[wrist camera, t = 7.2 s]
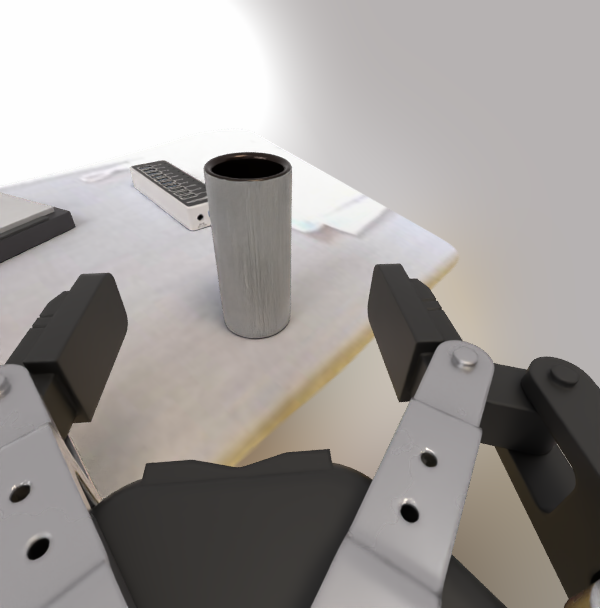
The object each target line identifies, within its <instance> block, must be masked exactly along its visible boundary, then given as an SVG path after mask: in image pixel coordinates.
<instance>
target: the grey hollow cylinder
mask: <svg viewBox="0 0 600 608" xmlns="http://www.w3.org/2000/svg"><path fill="white" fill-rule="evenodd" d="M204 177H205V184H206V192H207V199H208V206H209V214H210V221H211V228H212V236H213V243H214V250H215V258H216V265H217V272H218V280H219V287H220V294H221V302H222V309H223V316H224V320H225V324H226V326H227V327H228V328H229V329H230V330H231V331H232V332H234V333H235V334H237V335H240V336H243V337H247V338H264V337H268V336H271V335H274V334H276V333H278V332H279V331H281V330H282V329H283V328H284V327H285V326H286V325H287V324H288V322H289V319H290V305H291V203H292V167H291V164H290V163H289V162H288V161H287V160H286V159H284V158H282V157H279V156H276V155H272V154H266V153H256V152H242V153H232V154H226V155H222V156H218V157H215V158H213V159H211V160H209V161H208V162H207V163H206V164H205V166H204Z"/></svg>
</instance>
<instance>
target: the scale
mask: <svg viewBox="0 0 600 608" xmlns="http://www.w3.org/2000/svg"><path fill="white" fill-rule="evenodd" d="M74 227H75V224H74V221H73V218H72V216H71V213H70V211H67V210H63V209H59V208H56V207H52V206H48V205H45V204H41V203H37V202H34V201H30V200H26V199H22V198H19V197H15V196H11V195H8V194H4V193H0V263H1V262H3V261H5V260H7V259H9V258H11V257H13V256H15V255H17V254H19V253H22V252H24V251H26V250H28V249H30V248H32V247H34V246H36V245H38V244H41V243H43V242H45V241H47V240H49V239H51V238H53V237H55V236H57V235H59V234H62V233H64V232H66V231H68V230H70V229H72V228H74Z"/></svg>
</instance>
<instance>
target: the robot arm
mask: <svg viewBox="0 0 600 608" xmlns="http://www.w3.org/2000/svg"><path fill="white" fill-rule="evenodd" d="M368 318H369V322H370V325H371V328H372V330H373V333H374V336H375V338H376V341H377V344H378V346H379V349H380V352H381V355H382V357H383V360H384V363H385V365H386V368H387V371H388V374H389V376H390V379H391V381H392V384H393V387H394V389H395V392H396V395H397V398H398V400H399V402H407V401H410V402H409V404H408V406H407V408H406V410H405V412H404V415H403V417H402V419H401V421H400V423H399V425H398V427H397V430H396V432H395V434H394V436H393V438H392V440H391V442H390V444H389V446H388V449H387V451H386V453H385V455H384V457H383V459H382V461H381V463H380V466H379V468H378V470H377V472H376V474H375V476H374V478H373V480H372V479H371V478H369V477H368V476H366V475H364V474H363V473H361V472H359V471H357V470H354V469H352V468H350V467H347V466H344V465H340V464H336V463H332V461H331V456H330V449H324V450H312V451H299V452H287V453H283V454H280V455H277V456H274V457H271V458H268V459H265V460H262V461H259V462H256V463H253V464H250V465H247V466H244V467H231V466H225V465H219V464H213V463H208V462H202V461H196V460H184V461H171V462H159V463H146V466H145V470H144V474H143V478H142V479H140V480H137V481H135V482H133V483H131V484H128V485H126V486H124V487H122V488H121V489H119V490H117V491H115V492H114V493H112V494H111V495H109V496H108V497H106V498H105V499H103V500H102V499H101V497H100V496H99V494H98V492H97V490H96V488H95V486H94V484H93V482H92V480H91V478H90V476H89V474H88V472H87V470H86V468H85V466H84V464H83V462H82V459H81V457H80V455H79V453H78V451H77V449H76V447H75V445H74V443H73V441H72V439H71V437H70V436H69V434H68V433H69V430H70V428H71V426H72V424H73V423H82V422H91V420H92V417H93V415H94V412H95V410H96V407H97V405H98V402H99V400H100V397H101V395H102V392H103V390H104V387H105V385H106V382H107V380H108V377H109V375H110V372H111V370H112V367H113V365H114V362H115V360H116V357H117V355H118V352H119V350H120V347H121V345H122V342H123V340H124V337H125V335H126V332H127V326H128V320H127V314H126V311H125V308H124V305H123V302H122V299H121V296H120V294H119V291H118V288H117V285H116V282H115V279H114V277H113V276H112V275H111V274H110V273H95V274H81V275H80V276H79V278H78V279H77V281H76V282H75V284H74V285H73V287H72V288H71V290H70V291H64V292H62V293H61V294H60V295H58V296H57V297H56V298H54V299H53V300H51V301H50V302H49V303H48V304H47V306H46V307H45V308H44V310H43V311H42V313H41V314H40V318H37V320H36V321H35V322H34V324H33V325H32V326H33V328H30V330H29V331H28V332H27V334H26V335H25V337H24V338H23V339H22V341H21V342H20V344H19V345H18V346H17V348H16V349H15V351H14V352H13V353H12V355H11V356H10V358H9V359H8V360H7V362H6V363H5V365H0V608H507V607H506V606H505V605H504V604H503V603H502V602H501V601H500V600H498V599H497V598H496V597H495V596H494V595H493V594H492V593H491V592H490V591H489V590H488V589H487V588H486V587H485V586H484V585H483V584H482V583H481V582H480V581H479V580H478V579H477V578H476V577H475V576H474V575H473V574H471V572H469V571H468V570H467V569H466V568H465V567H464V566H463V565H462V564H461V563H460V562H459V561H458V560H457V559H456V558H455V557H454V556H453V555H452V549H453V546H454V542H455V538H456V534H457V530H458V526H459V522H460V519H461V515H462V511H463V507H464V503H465V499H466V495H467V491H468V488H469V484H470V480H471V475H472V472H473V468H474V464H475V460H476V456H477V452H478V448H479V445H480V443H483V444H488V445H492V446H495V448H496V450H497V452H498V454H499V456H500V459H501V461H502V463H503V465H504V467H505V469H506V471H507V473H508V475H509V477H510V479H511V481H512V483H513V485H514V487H515V489H516V491H517V493H518V495H519V498H520V500H521V502H522V504H523V506H524V508H525V510H526V511H527V514H528V516H529V518H530V520H531V522H532V524H533V526H534V528H535V530H536V532H537V534H538V536H539V539H540V541H541V543H542V545H543V547H544V549H545V551H546V553H547V555H548V557H549V559H550V561H551V563H552V565H553V567H554V569H555V571H556V573H557V576H558V578H559V579H560V582H561V584H562V586H563V588H564V590H565V592H566V594H567V596H568V598H569V600H568V601H567V603H566V604H565V606H564V608H600V389H599V387H598V386H597V385H596V384H595V382H594V381H593V380H592V379H591V378H590V377H589V376H588V375H587V374H586V373H585V372H584V371H583V370H581V369H580V368H579V367H577V366H575V365H574V364H572V363H569V362H567V361H565V360H562V359H558V358H554V357H540V358H537V359H534V360H533V361H532V362H531V364H530V366H529V367H528V369H527V370H526V369H520V368H515V367H510V366H505V365H500V364H495V363H493V361H492V359H491V358H490V356H489V355H488V354H487V353H486V352H484V350H482V349H481V348H479V347H477V346H476V345H473V344H471V343H468V342H465V341H462V339H461V338H460V336H459V334H458V333H457V332H456V330H455V328H454V326H453V325H452V323H451V322H450V320H449V319H448V317H447V315H446V314H445V312H444V311H443V310H442V307H441V306H440V305H439V303H438V301H436V298H435V296H434V295H433V293H432V292H431V290H430V289H429V287H427V286H426V285H425V284H423V283H422V282H421V281H419V280H418V279H409V277H408V275H407V274H406V272H405V270H404V268H403V267H402V265H401V264H377V265H376V266H375V267H374V271H373V277H372V282H371V288H370V294H369V300H368ZM557 444H558V445H557ZM558 446H559V447H560V449H561V450H562V452H563V453H564V455H565V456H564V455H563V454H562V452H561V450H560V449H559V447H558ZM565 457H566V458H567V460H568V461H569V463H570V464H571V466H572V467H571V466H570V464H569V463H568V461H567V460H566V458H565ZM572 468H573V469H572ZM573 470H574V471H573Z"/></svg>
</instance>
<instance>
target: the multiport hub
mask: <svg viewBox="0 0 600 608" xmlns="http://www.w3.org/2000/svg"><path fill="white" fill-rule="evenodd" d="M130 172H131V176H132V180H133V184H134V187H135V188H136V189H137V190H139V191H140V192H141V193H143V194H144V195H145V196H146V197H148V198H149V199H150V200H152V201H153V202H154V203H155V204H157V205H158V206H159V207H160V208H162V209H163V210H164V211H166V212H167V213H168V214H169V215H171V216H172V217H173V218H175V219H176V220H177V221H178V222H180V223H181V224H182V225H184V226H185V227H186V228H187V229H189V230H197V229H201V228H204V227H207V226H211V221H210V214H209V206H208V199H207V192H206V184H205V183H203V182H201V181H200V180H198V179H196V178H194V177H193V176H191V175H189V174H188V173H186V172H184V171H183V170H181V169H179V168H178V167H176V166H174V165H172V164H171V163H169V162H167V161H164V160H162V161H157V162H151V163H146V164H141V165H135V166H131V167H130Z"/></svg>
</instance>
